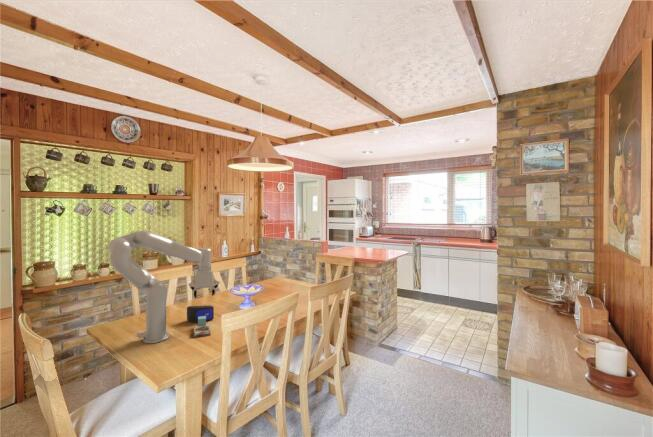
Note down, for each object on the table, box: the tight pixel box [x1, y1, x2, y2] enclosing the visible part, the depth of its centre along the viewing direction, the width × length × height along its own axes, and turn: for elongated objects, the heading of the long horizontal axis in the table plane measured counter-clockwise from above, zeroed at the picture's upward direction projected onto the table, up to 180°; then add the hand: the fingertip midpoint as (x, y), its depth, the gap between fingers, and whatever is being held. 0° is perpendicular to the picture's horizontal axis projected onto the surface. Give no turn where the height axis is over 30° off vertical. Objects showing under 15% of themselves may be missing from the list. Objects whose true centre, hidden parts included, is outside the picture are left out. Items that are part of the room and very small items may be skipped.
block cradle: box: [192, 324, 211, 338], centre depth 166 cm, size 9×9×2 cm
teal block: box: [197, 316, 207, 327], centre depth 174 cm, size 4×4×6 cm
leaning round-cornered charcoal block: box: [186, 304, 215, 323], centre depth 184 cm, size 16×5×9 cm, turn 98°
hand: (204, 296), depth 177 cm, fingers open, 9 cm apart
